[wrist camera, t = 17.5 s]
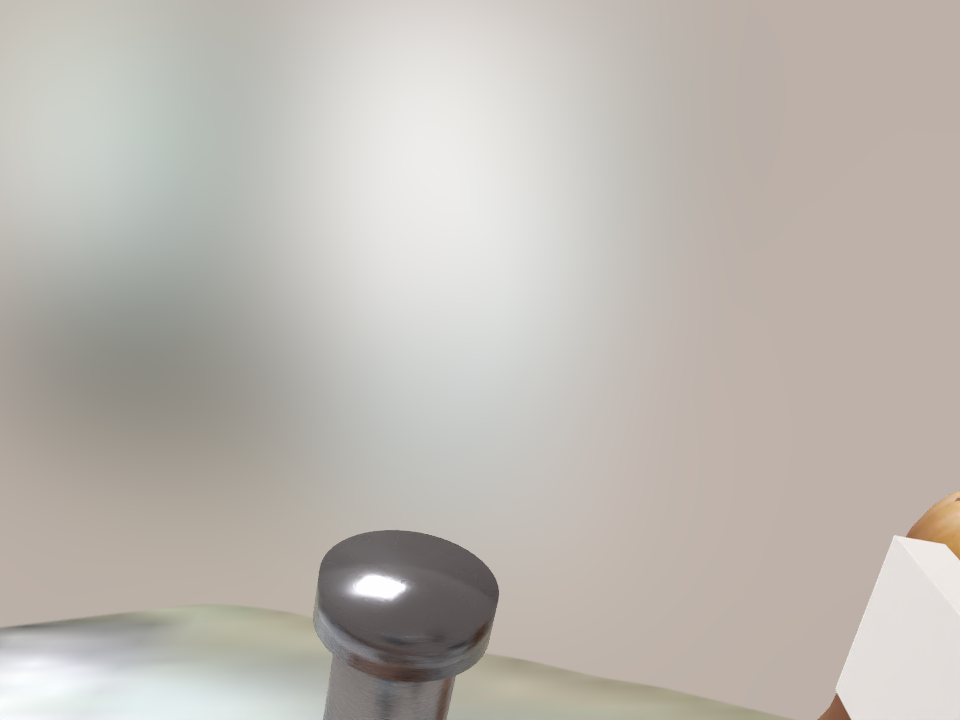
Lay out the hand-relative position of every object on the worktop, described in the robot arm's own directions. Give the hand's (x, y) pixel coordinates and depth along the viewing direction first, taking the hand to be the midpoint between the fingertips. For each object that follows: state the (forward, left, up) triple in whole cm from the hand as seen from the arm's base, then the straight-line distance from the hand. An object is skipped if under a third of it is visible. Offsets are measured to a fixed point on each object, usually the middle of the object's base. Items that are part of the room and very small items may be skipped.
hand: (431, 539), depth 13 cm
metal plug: (+9, -16, -31) cm, 36 cm away
